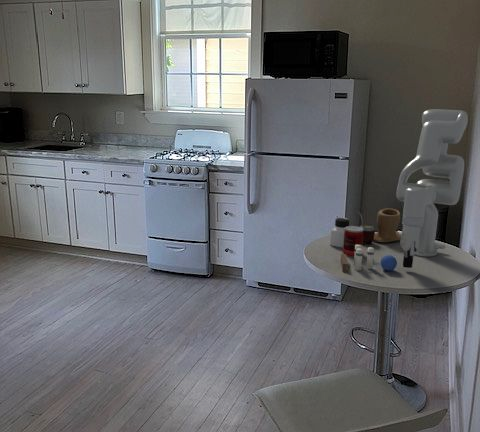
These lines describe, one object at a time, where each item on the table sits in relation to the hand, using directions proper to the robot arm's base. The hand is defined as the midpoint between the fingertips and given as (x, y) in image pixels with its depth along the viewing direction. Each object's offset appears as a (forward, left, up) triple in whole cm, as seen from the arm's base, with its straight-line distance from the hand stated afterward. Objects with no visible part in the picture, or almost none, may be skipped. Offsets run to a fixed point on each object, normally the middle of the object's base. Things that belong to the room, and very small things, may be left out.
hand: (407, 266), depth 195 cm
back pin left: (+19, -3, -2) cm, 19 cm away
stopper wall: (+23, -6, -2) cm, 24 cm away
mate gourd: (+3, -35, -2) cm, 36 cm away
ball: (+7, -1, +1) cm, 7 cm away
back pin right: (+17, -7, -2) cm, 19 cm away
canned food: (+14, -21, -2) cm, 26 cm away
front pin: (+14, -4, -2) cm, 14 cm away
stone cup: (-9, -38, -2) cm, 39 cm away
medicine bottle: (+15, -33, -2) cm, 37 cm away
